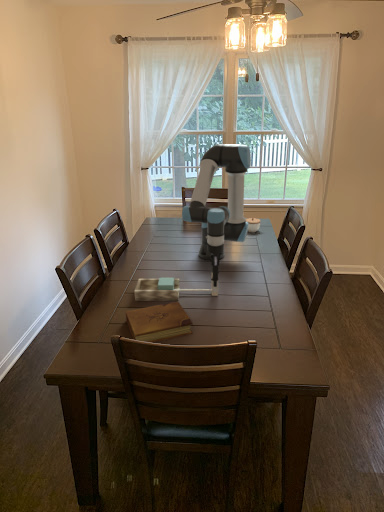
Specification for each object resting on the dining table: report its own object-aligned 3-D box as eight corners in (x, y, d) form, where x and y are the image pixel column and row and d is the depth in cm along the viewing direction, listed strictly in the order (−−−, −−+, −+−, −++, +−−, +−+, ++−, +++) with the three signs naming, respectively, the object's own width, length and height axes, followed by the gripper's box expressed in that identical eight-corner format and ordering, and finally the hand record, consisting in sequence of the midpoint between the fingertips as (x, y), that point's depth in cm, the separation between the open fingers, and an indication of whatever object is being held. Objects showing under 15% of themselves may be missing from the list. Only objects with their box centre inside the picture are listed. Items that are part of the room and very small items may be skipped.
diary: (177, 311, 165) (177, 300, 163) (192, 334, 149) (192, 322, 147) (126, 321, 158) (125, 309, 155) (135, 347, 142) (134, 334, 139)
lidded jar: (250, 234, 257) (251, 221, 253) (241, 229, 266) (242, 217, 262) (262, 231, 261) (263, 218, 258) (253, 227, 270) (254, 215, 267)
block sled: (217, 289, 182) (217, 270, 178) (218, 297, 175) (218, 278, 171) (160, 289, 182) (159, 270, 179) (158, 297, 175) (157, 278, 171)
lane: (179, 287, 185) (179, 278, 183) (178, 300, 173) (178, 291, 171) (139, 287, 185) (138, 278, 183) (135, 300, 173) (134, 291, 171)
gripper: (206, 236, 177) (206, 280, 186) (207, 250, 160) (207, 298, 169) (222, 236, 177) (221, 280, 186) (224, 250, 160) (223, 298, 169)
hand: (214, 288), depth 177 cm, fingers closed on block sled, 5 cm apart
